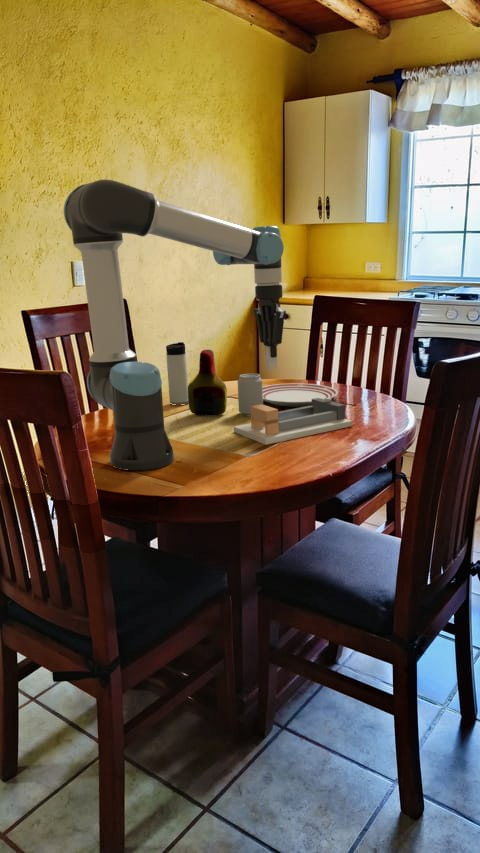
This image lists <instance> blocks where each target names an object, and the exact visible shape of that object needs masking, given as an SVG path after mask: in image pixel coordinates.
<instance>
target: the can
mask: <svg viewBox="0 0 480 853" xmlns="http://www.w3.org/2000/svg"><path fill="white" fill-rule="evenodd" d="M260 376H261V375H260V374H259V373H244V374H242V373H241V374H240V375H239V378H238V379H237V396H238V397H237V398H238V399H237V400H238V401H237V403H238V412H239V413H240V414H241V415H242V416H247V417H251V406H255V405H261V404H262V405H264V401H263V388H262V387H263V379H262V378H261V377H260Z"/></svg>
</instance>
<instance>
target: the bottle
mask: <svg viewBox="0 0 480 853" xmlns="http://www.w3.org/2000/svg"><path fill="white" fill-rule="evenodd" d="M198 367H199V369H198V373H197V374H196V375H195V376H194V378H193V379H192V380H191V381H190V382H188V402H189V403H188V408H189V410H190V412H191V413H192V414H194V415H195V416H197V417H202V416H213V417H218V416H221V415H223V414H225V413H226V410H227V406H228V388H227V386H226V385H227V384H226V383H225V382H224V381H223V380H222V379H221V378H220V377H219V376H218V375H217V372H216V365H215V355H214V351H213V350H212V349H203V350H202V351H201V352H200V353H199V366H198Z"/></svg>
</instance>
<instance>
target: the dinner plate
mask: <svg viewBox="0 0 480 853" xmlns="http://www.w3.org/2000/svg"><path fill="white" fill-rule="evenodd" d="M262 388H263V402H267V403H268V404H272V405H275V406H279V407H289V408H291V407H293V408H294V407H296V408H297V407H306V406H312V399H315V398H321V399H324V398H331V399H333V398H335V397H337V396H338V395H339V394H338V393H339V391H338V390H337V389H335V388H333V387H330V386H327V385H321V384H316V383H315V384H314V383H301V382H298V383H297V382H295V383H294V382H291V383H290V382H289V383H276V384H270V385H269V384H267V385H266V386H262Z"/></svg>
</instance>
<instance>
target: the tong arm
mask: <svg viewBox="0 0 480 853" xmlns="http://www.w3.org/2000/svg"><path fill="white" fill-rule="evenodd" d="M313 414H314V407H313V406H312V405H309V406H300V407H296V408H291V409H286V410H281V411H278V421H283V420H288V419H293V418H298V417H303V416H308V415H313ZM264 425H265V424H264Z"/></svg>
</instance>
